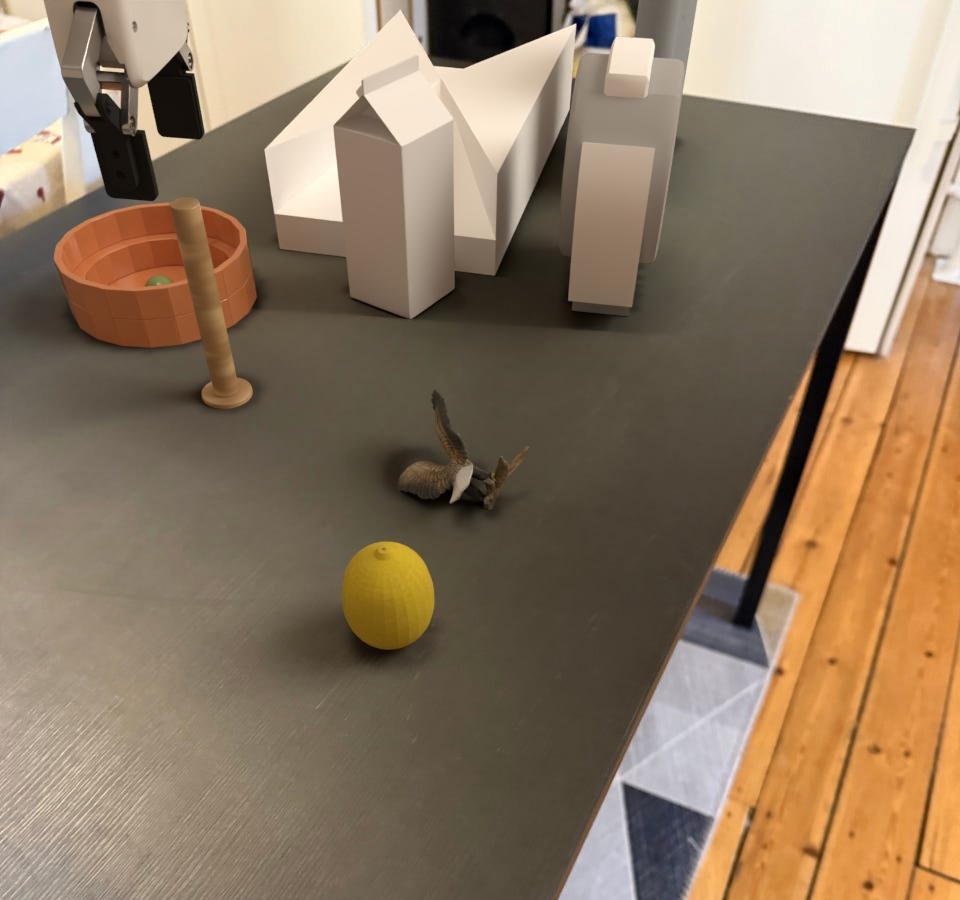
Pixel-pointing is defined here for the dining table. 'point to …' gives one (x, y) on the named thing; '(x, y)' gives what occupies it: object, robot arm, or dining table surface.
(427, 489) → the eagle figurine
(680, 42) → the flask
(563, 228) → the grey boxy piece
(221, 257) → the bowl
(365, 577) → the lemon
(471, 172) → the building model
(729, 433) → the dining table surface
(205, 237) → the stick
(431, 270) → the milk carton
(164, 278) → the bead
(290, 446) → the dining table surface
